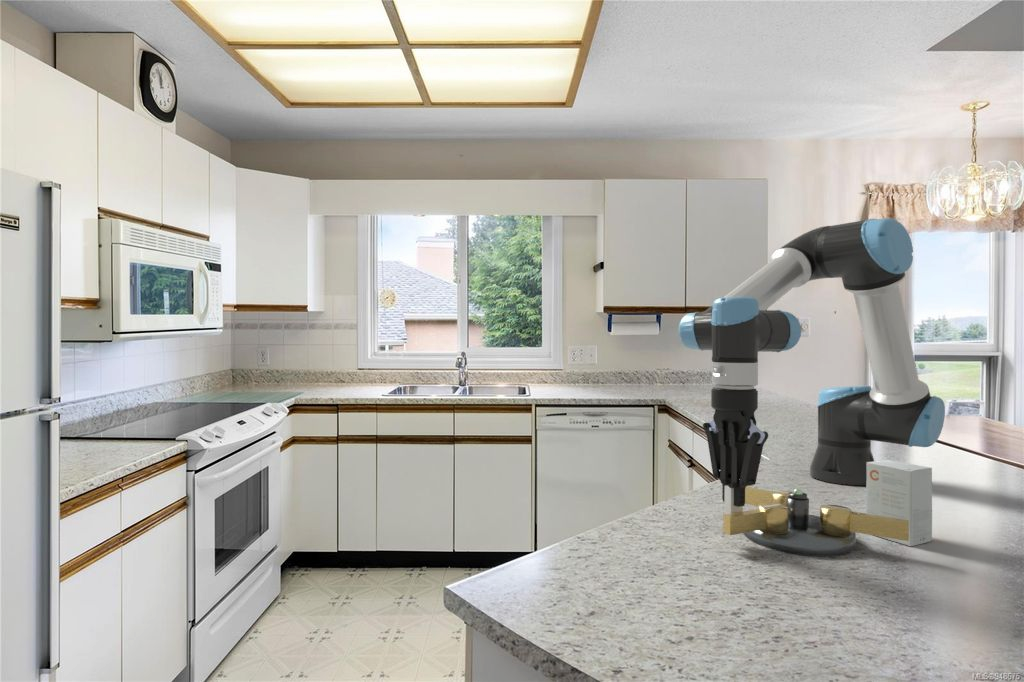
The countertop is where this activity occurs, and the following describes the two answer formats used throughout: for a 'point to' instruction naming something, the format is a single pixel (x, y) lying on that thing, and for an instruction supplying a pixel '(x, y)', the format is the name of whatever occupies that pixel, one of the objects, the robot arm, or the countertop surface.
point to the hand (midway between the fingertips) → (733, 523)
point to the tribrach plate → (804, 533)
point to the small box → (901, 496)
